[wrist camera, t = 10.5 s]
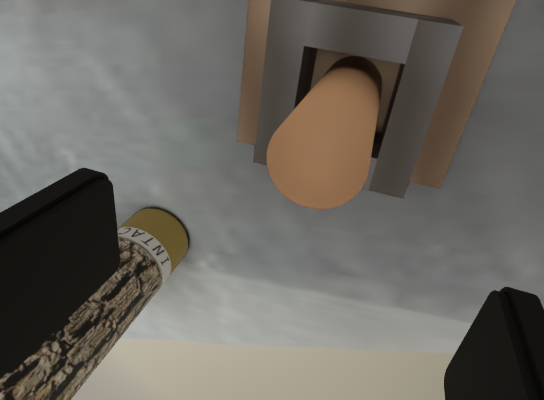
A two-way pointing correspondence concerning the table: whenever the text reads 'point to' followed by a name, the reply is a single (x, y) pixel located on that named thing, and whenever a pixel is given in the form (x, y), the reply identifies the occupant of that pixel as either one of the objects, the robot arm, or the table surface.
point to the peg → (328, 137)
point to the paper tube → (102, 311)
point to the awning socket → (391, 64)
